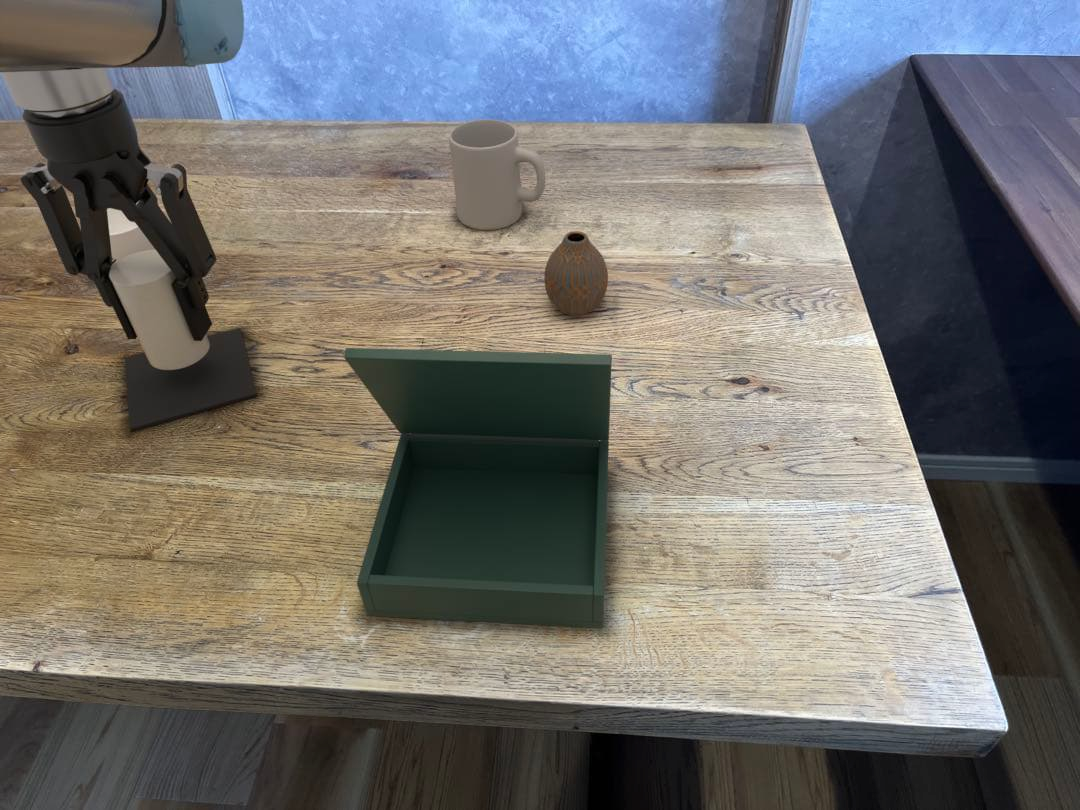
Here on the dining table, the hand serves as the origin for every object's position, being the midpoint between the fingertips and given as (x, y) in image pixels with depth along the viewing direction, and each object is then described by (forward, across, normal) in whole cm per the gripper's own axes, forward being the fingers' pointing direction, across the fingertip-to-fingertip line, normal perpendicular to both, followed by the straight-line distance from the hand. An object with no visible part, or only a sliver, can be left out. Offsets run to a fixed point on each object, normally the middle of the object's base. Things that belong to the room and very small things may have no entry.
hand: (170, 331), depth 80 cm
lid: (-6, -34, +16) cm, 38 cm away
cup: (+6, +16, -21) cm, 27 cm away
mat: (+6, 0, 0) cm, 6 cm away
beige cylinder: (+3, 0, 0) cm, 3 cm away
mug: (+6, -28, -34) cm, 45 cm away
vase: (+6, -39, -14) cm, 42 cm away
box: (+6, -34, +19) cm, 40 cm away
